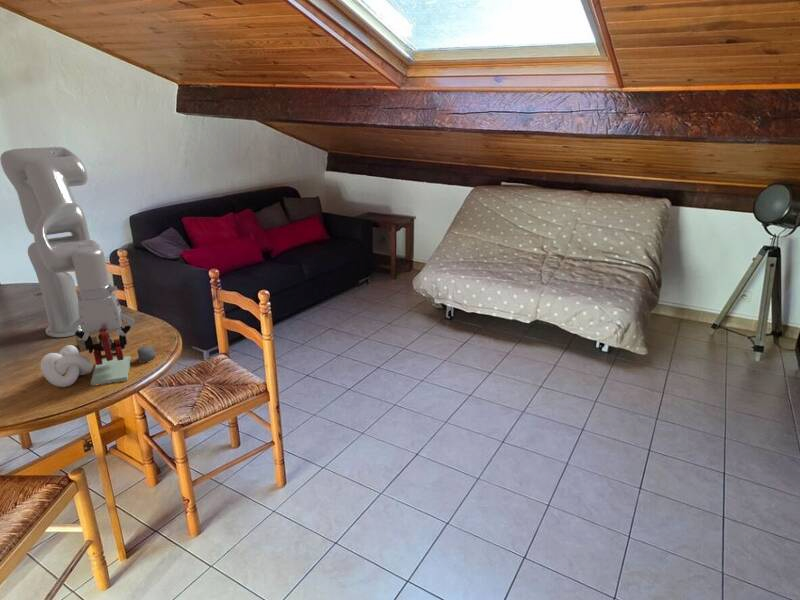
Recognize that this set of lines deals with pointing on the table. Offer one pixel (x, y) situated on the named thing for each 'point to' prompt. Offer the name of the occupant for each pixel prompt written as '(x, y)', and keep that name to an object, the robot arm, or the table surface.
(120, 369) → the board
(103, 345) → the red wheeled piece
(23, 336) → the table surface
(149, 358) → the grey rounded pebble
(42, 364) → the white knot
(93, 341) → the walnut block
